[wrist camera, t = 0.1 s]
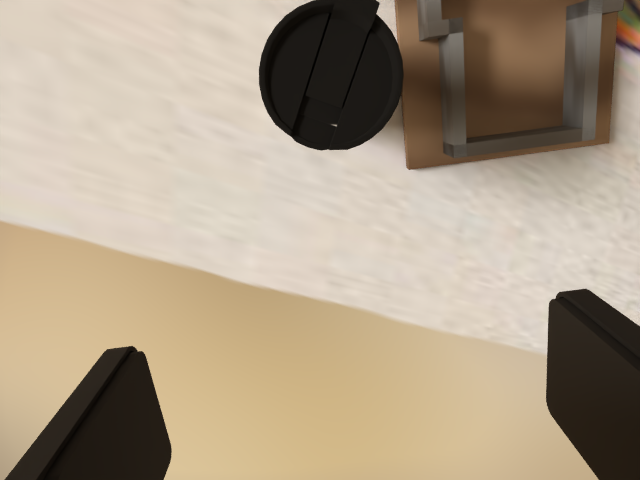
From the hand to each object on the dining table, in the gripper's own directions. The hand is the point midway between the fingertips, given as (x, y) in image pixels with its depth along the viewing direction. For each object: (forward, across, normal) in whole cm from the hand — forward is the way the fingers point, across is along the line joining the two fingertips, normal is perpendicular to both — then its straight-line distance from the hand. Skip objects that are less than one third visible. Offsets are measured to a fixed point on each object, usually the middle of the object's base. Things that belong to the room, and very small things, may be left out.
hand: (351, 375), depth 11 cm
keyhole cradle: (+31, -16, -11) cm, 37 cm away
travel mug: (+31, -1, -7) cm, 32 cm away
